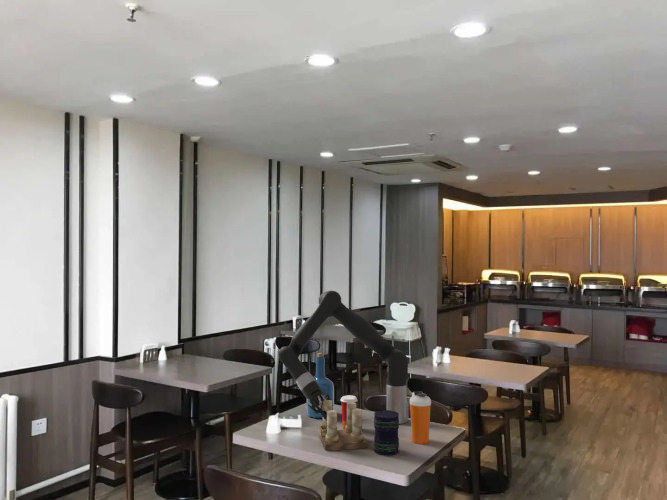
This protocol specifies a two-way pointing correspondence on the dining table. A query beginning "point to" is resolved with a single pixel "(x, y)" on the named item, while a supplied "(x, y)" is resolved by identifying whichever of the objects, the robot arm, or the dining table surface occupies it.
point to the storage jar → (386, 432)
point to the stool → (343, 431)
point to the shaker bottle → (420, 417)
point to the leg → (327, 406)
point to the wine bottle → (321, 384)
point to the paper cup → (344, 402)
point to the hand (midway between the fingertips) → (331, 418)
